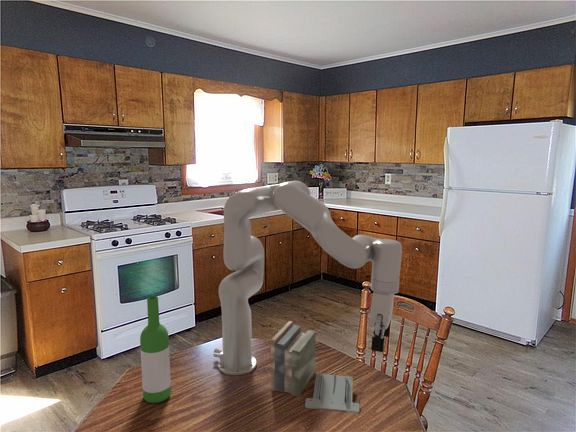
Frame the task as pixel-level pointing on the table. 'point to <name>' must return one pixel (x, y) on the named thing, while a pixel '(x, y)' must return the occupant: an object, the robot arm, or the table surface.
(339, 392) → the metal bracket
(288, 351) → the book row
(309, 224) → the robot arm
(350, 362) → the table surface
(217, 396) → the table surface
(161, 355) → the wine bottle
